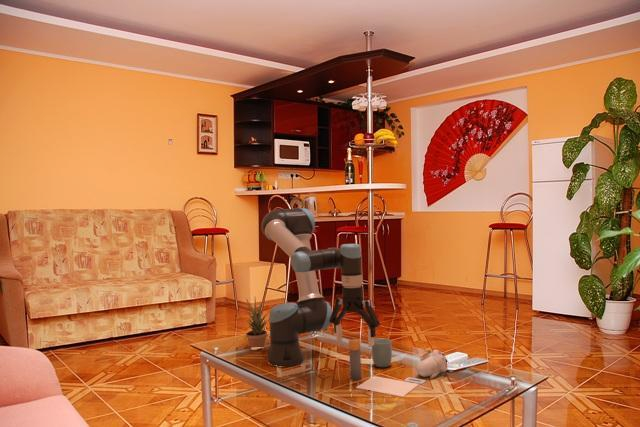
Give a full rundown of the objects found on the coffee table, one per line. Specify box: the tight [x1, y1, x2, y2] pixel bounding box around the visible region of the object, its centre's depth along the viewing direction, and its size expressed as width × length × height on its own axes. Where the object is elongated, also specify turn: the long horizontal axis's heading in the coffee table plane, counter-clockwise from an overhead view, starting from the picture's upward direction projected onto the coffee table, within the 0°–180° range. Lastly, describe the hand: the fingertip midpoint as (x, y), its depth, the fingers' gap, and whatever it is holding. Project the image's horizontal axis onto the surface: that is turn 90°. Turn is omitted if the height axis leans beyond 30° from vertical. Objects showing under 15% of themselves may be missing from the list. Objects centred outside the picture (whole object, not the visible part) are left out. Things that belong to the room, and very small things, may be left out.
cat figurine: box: [415, 349, 449, 379], centre depth 197 cm, size 10×8×15 cm
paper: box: [355, 375, 420, 398], centre depth 186 cm, size 18×13×1 cm
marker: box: [348, 338, 362, 381], centre depth 195 cm, size 4×4×14 cm
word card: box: [402, 376, 427, 385], centre depth 191 cm, size 7×4×1 cm, turn 56°
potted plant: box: [245, 297, 268, 348], centre depth 239 cm, size 10×10×25 cm
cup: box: [371, 337, 393, 368], centre depth 208 cm, size 8×8×10 cm
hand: (355, 344), depth 195 cm, fingers open, 13 cm apart
